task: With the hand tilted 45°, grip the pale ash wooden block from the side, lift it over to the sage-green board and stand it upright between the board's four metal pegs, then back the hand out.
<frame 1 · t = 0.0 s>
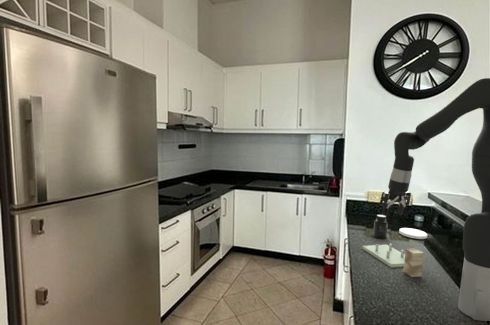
hand: (392, 214, 125), 22 cm above the table, tool pointing down, fingers open, 8 cm apart
ash block: (412, 274, 119), on the table
peg board: (388, 256, 135), on the table
supplement bottle: (379, 236, 162), on the table
plastic lid: (412, 236, 166), on the table
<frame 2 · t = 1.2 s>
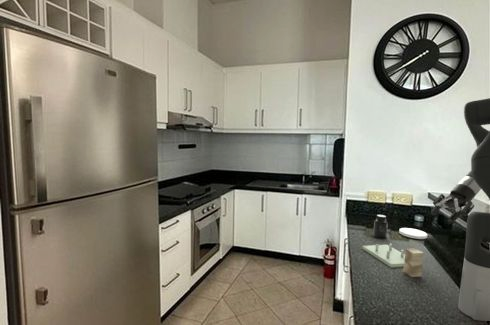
hand: (441, 217, 119), 24 cm above the table, tool tilted 45°, fingers open, 8 cm apart
nothing on the table moved.
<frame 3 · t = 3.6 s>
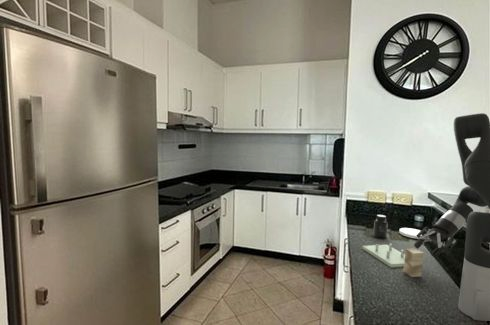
hand: (423, 251, 119), 9 cm above the table, tool tilted 45°, fingers open, 8 cm apart
nothing on the table moved.
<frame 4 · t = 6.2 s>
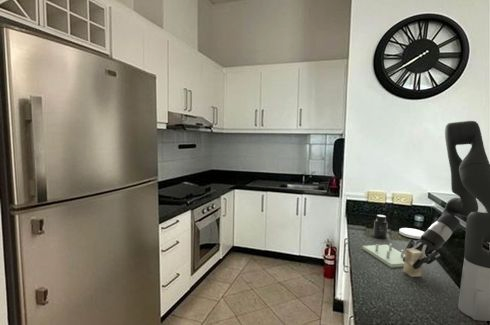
hand: (409, 264, 118), 4 cm above the table, tool tilted 45°, fingers closed on ash block, 4 cm apart
ash block: (412, 273, 119), on the table, touching gripper
everything else where it was.
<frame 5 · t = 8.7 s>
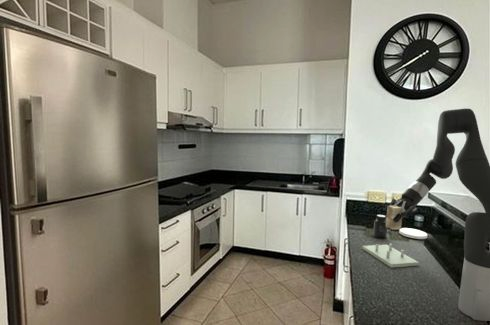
hand: (390, 219, 132), 18 cm above the table, tool tilted 45°, fingers closed on ash block, 4 cm apart
ash block: (393, 227, 133), point 14 cm above the table, touching gripper
everything else where it was.
when the fingers open (7 cm above the table, at t = 11.6 s): ash block drops 2 cm, resting on peg board.
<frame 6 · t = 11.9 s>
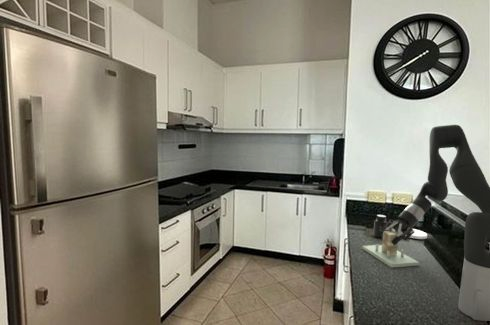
hand: (387, 240, 134), 8 cm above the table, tool tilted 45°, fingers open, 6 cm apart
ash block: (388, 253, 135), point 1 cm above the table, touching peg board
everything else where it was.
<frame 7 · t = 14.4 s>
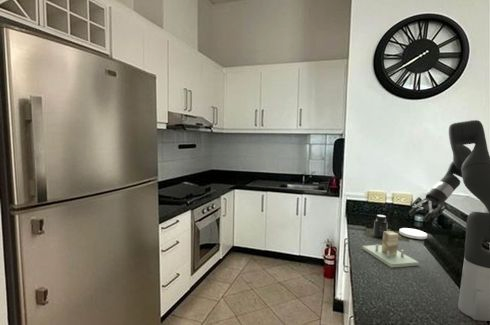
hand: (417, 217, 134), 19 cm above the table, tool tilted 45°, fingers open, 8 cm apart
nothing on the table moved.
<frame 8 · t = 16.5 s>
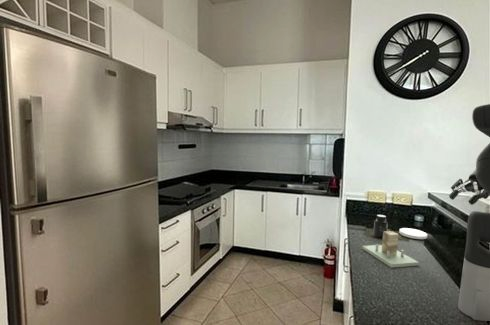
hand: (460, 200, 120), 31 cm above the table, tool tilted 45°, fingers open, 8 cm apart
nothing on the table moved.
at the end: ash block 0.2 cm off-centre on the peg board, point 1.5 cm above the peg board's base; ash block tilted 0°; the gripper is holding nothing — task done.
